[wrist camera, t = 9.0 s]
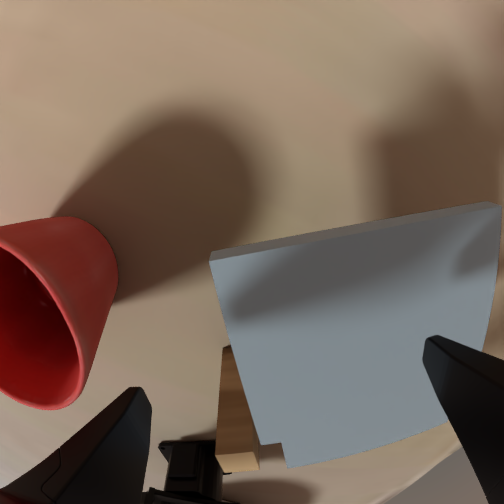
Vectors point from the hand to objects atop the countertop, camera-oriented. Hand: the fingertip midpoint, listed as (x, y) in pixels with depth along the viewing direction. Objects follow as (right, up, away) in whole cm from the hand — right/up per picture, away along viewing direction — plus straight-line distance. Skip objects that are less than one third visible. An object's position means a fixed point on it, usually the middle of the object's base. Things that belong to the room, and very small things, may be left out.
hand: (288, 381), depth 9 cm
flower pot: (-14, +3, +12) cm, 19 cm away
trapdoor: (+5, 0, +6) cm, 8 cm away
